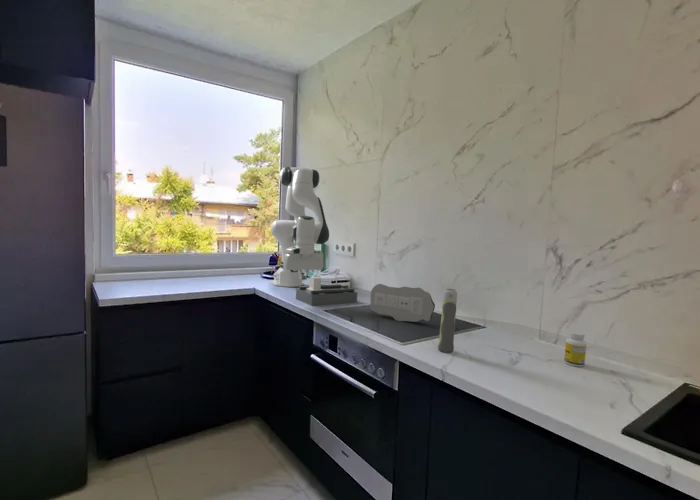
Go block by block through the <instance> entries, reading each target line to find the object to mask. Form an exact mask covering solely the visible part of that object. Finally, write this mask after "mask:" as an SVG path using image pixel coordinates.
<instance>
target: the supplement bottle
mask: <svg viewBox="0 0 700 500" xmlns="http://www.w3.org/2000/svg"><path fill="white" fill-rule="evenodd" d="M568 335H569V338H568V337H567V338H566V340H565V349H564V359H563V361H564V363H565V364H567V365H569V366H572V367H577V368H582V367H584V366H585V362H586V352H587V342H586V340H585V333H583V332H580V331H574V330H573V331H572V330H571V331H569V333H568Z"/></svg>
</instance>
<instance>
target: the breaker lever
mask: <svg viewBox="0 0 700 500" xmlns="http://www.w3.org/2000/svg"><path fill="white" fill-rule="evenodd" d="M308 286H309V288H307V289H306V290H308V291H316V290H323V289H321V286H322V278H321V277H319V276H309V285H308Z"/></svg>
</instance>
